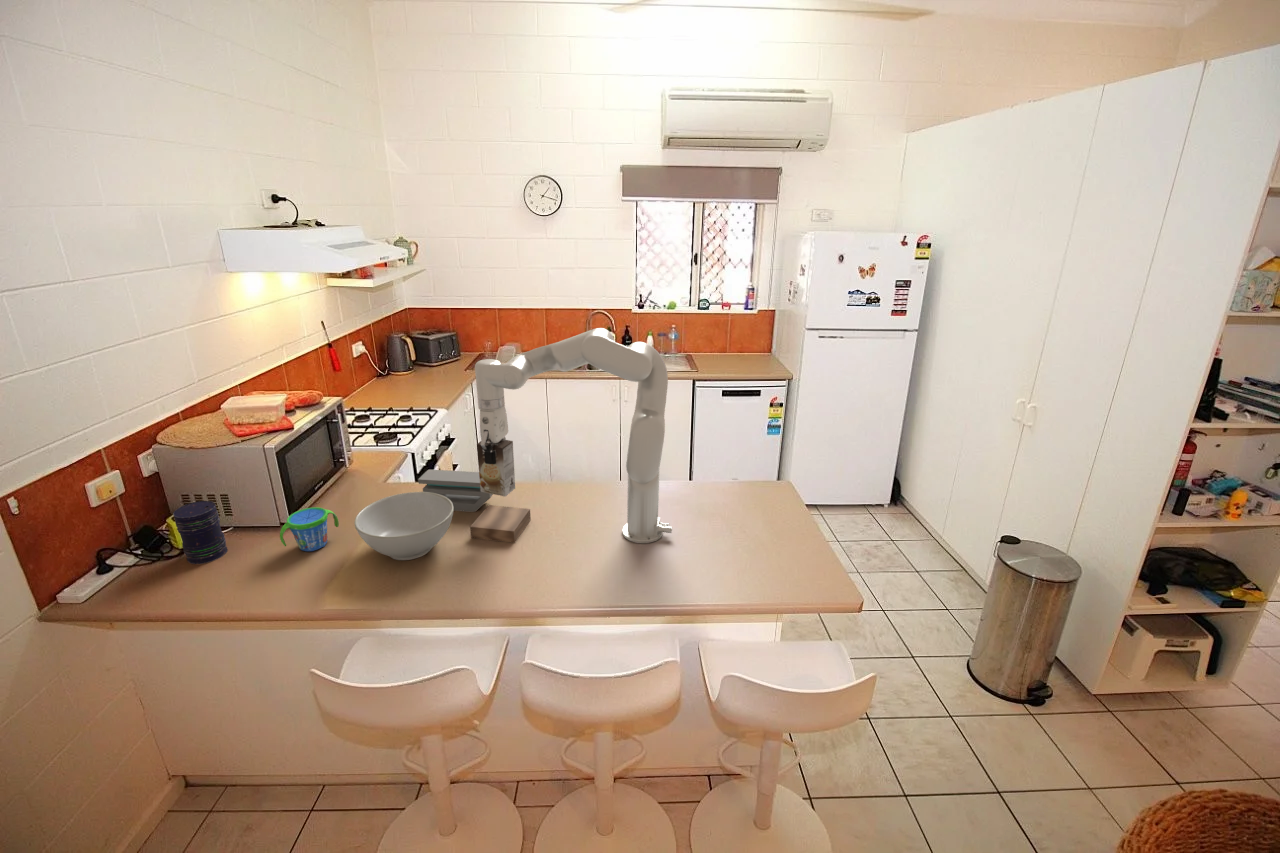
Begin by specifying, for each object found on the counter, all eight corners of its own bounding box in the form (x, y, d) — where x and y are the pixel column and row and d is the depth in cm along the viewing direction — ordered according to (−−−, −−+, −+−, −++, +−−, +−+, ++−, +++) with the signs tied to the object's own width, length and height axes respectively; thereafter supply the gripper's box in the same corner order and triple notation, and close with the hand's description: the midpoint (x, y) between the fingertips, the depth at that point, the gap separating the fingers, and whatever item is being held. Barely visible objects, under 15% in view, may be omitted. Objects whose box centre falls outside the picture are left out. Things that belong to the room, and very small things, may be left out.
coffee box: (479, 492, 180) (474, 443, 175) (491, 483, 186) (487, 436, 180) (505, 497, 178) (502, 447, 172) (516, 488, 183) (513, 440, 177)
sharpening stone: (502, 502, 203) (499, 473, 199) (494, 513, 196) (492, 483, 192) (432, 497, 205) (428, 469, 202) (422, 508, 198) (418, 479, 194)
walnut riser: (530, 519, 192) (530, 509, 190) (514, 542, 179) (513, 531, 178) (489, 515, 194) (488, 504, 193) (471, 538, 181) (470, 526, 180)
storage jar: (183, 567, 165) (169, 520, 160) (189, 550, 173) (176, 505, 168) (226, 558, 169) (213, 512, 164) (230, 542, 178) (218, 497, 172)
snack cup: (288, 563, 168) (281, 531, 164) (279, 547, 175) (272, 517, 171) (346, 543, 178) (341, 513, 174) (336, 529, 185) (330, 500, 181)
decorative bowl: (339, 563, 168) (332, 526, 164) (405, 519, 191) (400, 485, 187) (416, 584, 159) (411, 545, 155) (475, 535, 183) (472, 500, 179)
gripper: (491, 413, 163) (496, 471, 169) (514, 394, 179) (518, 448, 185) (465, 411, 164) (471, 469, 171) (491, 392, 180) (495, 446, 187)
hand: (495, 458), depth 178 cm, fingers closed on coffee box, 7 cm apart
